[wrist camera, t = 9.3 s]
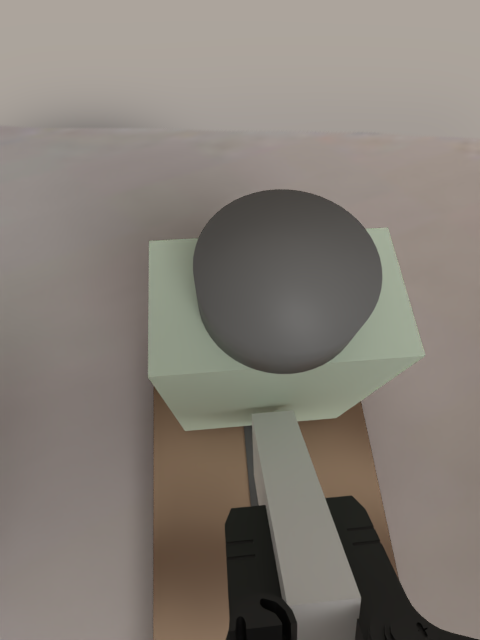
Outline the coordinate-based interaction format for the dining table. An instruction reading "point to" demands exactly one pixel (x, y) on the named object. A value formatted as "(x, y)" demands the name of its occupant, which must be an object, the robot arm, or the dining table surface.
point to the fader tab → (276, 313)
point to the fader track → (233, 492)
